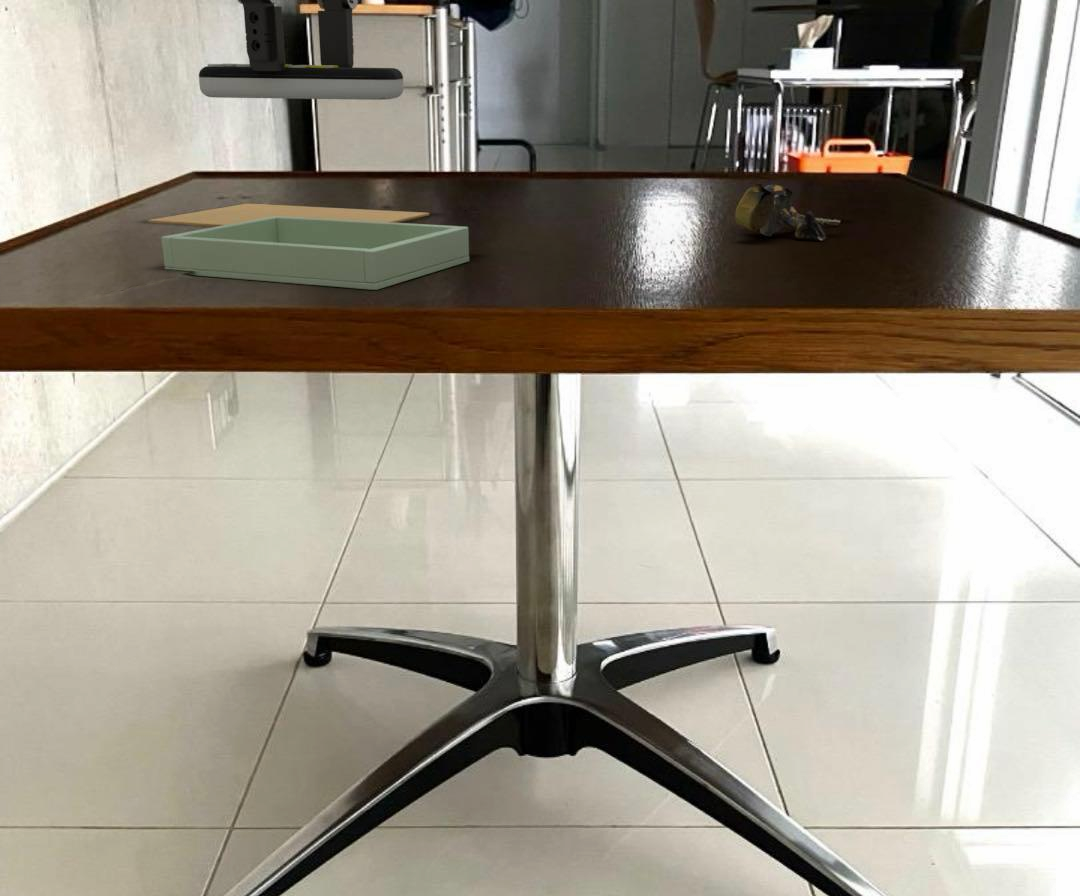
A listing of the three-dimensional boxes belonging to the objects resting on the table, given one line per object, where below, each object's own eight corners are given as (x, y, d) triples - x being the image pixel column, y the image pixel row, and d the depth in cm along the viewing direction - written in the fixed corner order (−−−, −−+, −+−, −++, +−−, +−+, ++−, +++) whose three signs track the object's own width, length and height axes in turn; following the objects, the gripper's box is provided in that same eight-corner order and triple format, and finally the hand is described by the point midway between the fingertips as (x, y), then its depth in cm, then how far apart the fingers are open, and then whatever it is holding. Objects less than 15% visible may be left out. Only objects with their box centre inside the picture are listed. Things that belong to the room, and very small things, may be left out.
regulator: (801, 230, 107) (700, 214, 96) (822, 186, 105) (721, 166, 94) (869, 267, 103) (771, 256, 92) (891, 223, 101) (794, 206, 90)
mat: (148, 225, 106) (147, 220, 105) (247, 208, 117) (247, 203, 117) (344, 238, 98) (344, 231, 98) (429, 218, 110) (429, 212, 110)
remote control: (394, 100, 77) (393, 66, 77) (194, 97, 78) (191, 63, 77) (406, 97, 83) (405, 65, 82) (220, 94, 83) (217, 63, 83)
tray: (164, 273, 82) (160, 236, 81) (276, 248, 93) (273, 215, 92) (376, 290, 76) (374, 251, 75) (469, 261, 87) (468, 226, 86)
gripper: (303, -196, 81) (318, 69, 87) (157, -242, 69) (185, 70, 75) (401, -204, 78) (409, 70, 84) (266, -253, 66) (286, 72, 72)
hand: (303, 70), depth 80 cm, fingers closed on remote control, 7 cm apart
